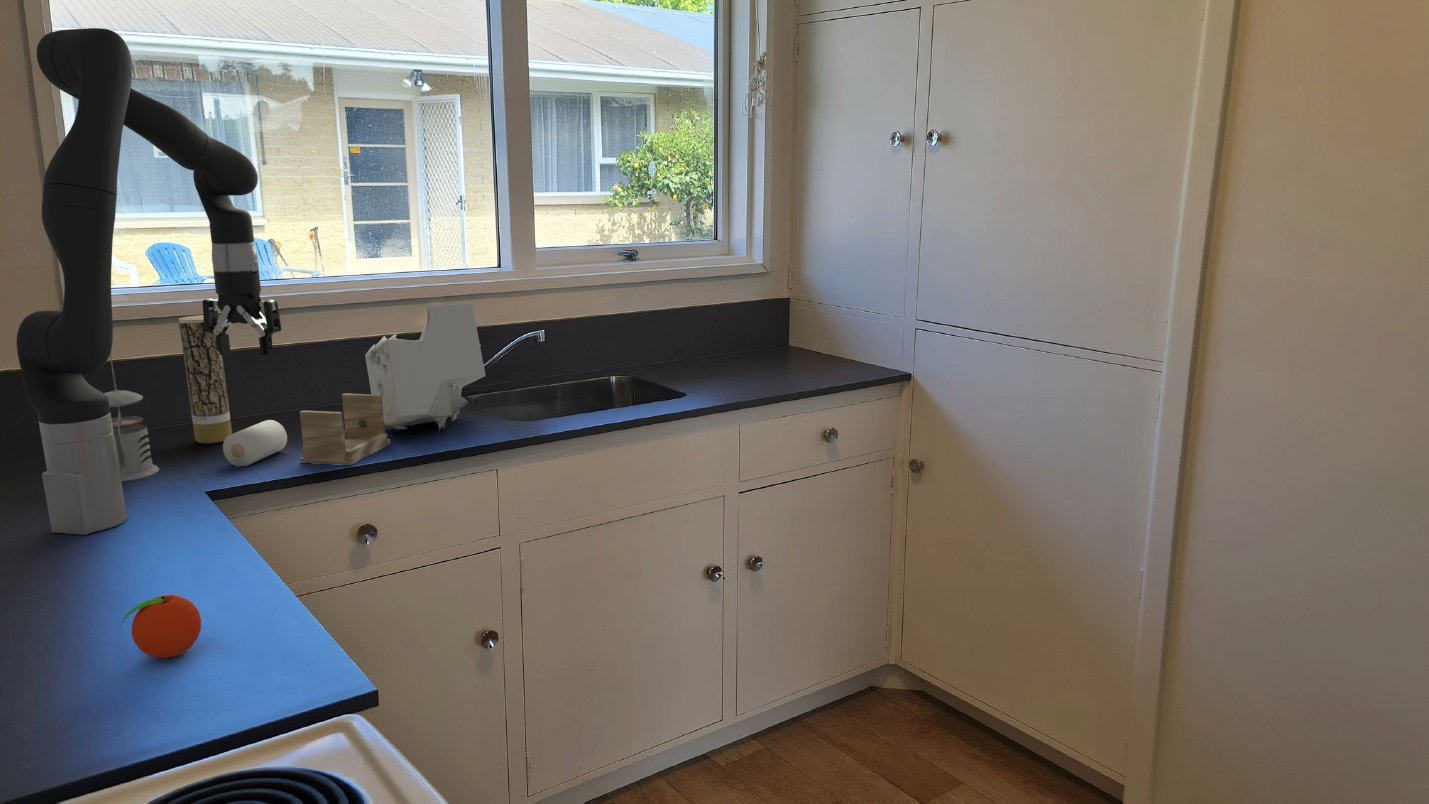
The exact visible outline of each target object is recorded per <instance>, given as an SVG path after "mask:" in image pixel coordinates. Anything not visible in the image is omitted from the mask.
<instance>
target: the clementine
mask: <svg viewBox="0 0 1429 804" xmlns="http://www.w3.org/2000/svg"><path fill="white" fill-rule="evenodd" d="M137 610H138V611H137ZM136 611H137V612H136ZM134 612H136V613H135V615H134V617H133V620H132V622H131V637H132V641H133V643H134V644H135V645H136V646H137V648H138V649H139V650H140V652H142V653H144V654H145V655H147V656H149V657H153V658H157V659H169V658H172V657H173V658H174V657H177V656H179V655H181V654H184V653H185V652H186V651H188V650H189V649H190V648H191V647H192V646H193V645H194V644H195V643H196V641H197V640H198V638H199V636H200V633H201V630H202V617H201V613H200V610H199V609H198V608H197V607H196V605H195V604H194V603H193V602H191V600H189V599H187V598H185V597H182V596H179V595H174V594H165V595H161V596H157V597H153V598H152V599H148V600H146V601H143V602H141V603H139V604H137V605H136V606H134V607H133V608H132V609H131V610H130V611H128V612H127V613H126V615H125V616H124V618H123V619H122V621H121V624H120V627H119V630H121V627H122V625H123V623H124V621H125V620H126V619H127V618H128V616H130V615H131V614H133V613H134Z"/></svg>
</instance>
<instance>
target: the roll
mask: <svg viewBox="0 0 1429 804" xmlns="http://www.w3.org/2000/svg"><path fill="white" fill-rule="evenodd" d="M287 441H288V434H287V432H286V429H285V427H284V426H283V425H282V424H281V423H279V422H278V421H276V420H273V419H267V420H264V421H261V422H259V423H256V424H254V425H250V426H249V427H246V428H244V429H241V430H238V431H236V432H232V434H231V435H229V436H227V437H226V439H225V440H224V441H223V442H222V443H223V444H222V450H223V455H224V456H225V459H226V460H227V461H228V462H229V463H230V464H232V465H233V466H236V467H240V466H245V467H247V466H250V465H251V464H254V463H256V462H259V461H261V460H263V459H265V458H267V457H270V456H271V455H274V454H276V453H278V452H281V451H282V450H283V449H284V448H285V447H286V445H287Z"/></svg>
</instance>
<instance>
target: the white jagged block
mask: <svg viewBox="0 0 1429 804" xmlns="http://www.w3.org/2000/svg"><path fill="white" fill-rule="evenodd" d="M426 311H427V312H426V313H427V314H426V316H427V317H426V320H425V322H424V325H423V329H422V331H421V335H420V337H419V339H416V340H411V339H402V338H400V339H399V338H396V337H397V335H398V334H393V335H392V336H391V337H389V338H388V337H386V336H385V335H384V336H383V337H382V338H381V339H380V340H379V341H378V342H377V343H376V344H373V345H372V346H371V347H370V348H369V349H368V351H367V352H366V354H364V355H365V356H364V357H365V363H366V368H367V375H368V381H369V387H370V393H371V394H372V395H382V404H383V416H384V426H387V427H389V428H390V427H391V428H394V429H395V430H396V431H398V430H400V431H402V430H406V429H408V427H406V425H412V424H413V425H414V424H423V423H428V422H434V423H435V424H436V423H437V428H438V431H440V430H441V429H442V430H443V429H444V430H445V429H446V428H447V427H448V426H449V425H451V423H453V422H454V421H455V420H456V419H457V416H458V415H459V414H460V410H461V409H462V408H464V407H465V406H467V404H468V403H469V401H468V400H467V399H465V397H463V396H462V392H463V391H462V390H463V388H464V387H466V386H467V385H469V384H472V383H474V382H476V381H478V380H480V379H482V378H484V377H487V376H486V375H487V374H486V370H485V365H484V360H483V354H482V349H481V344H480V343H481V342H480V338H479V333H478V328H477V327H478V326H477V323H476V318H475V313H474V308H473V302H471V301H469V302H462V303H461V302H458V303H446V304H433V305H427V306H426Z"/></svg>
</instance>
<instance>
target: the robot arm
mask: <svg viewBox="0 0 1429 804" xmlns="http://www.w3.org/2000/svg"><path fill="white" fill-rule="evenodd" d="M36 61H37V63H38V67H39V69H40V71H41V73H42V74H43V76H44V77H45V78H46V79H47V80H48V82H50V83H51V84H52V85H53V86H54V87H56V88H57V89H59V90H60V91H62V92H64V93H66V94H67V95H69V96H71V97H73V98H75V99H77V101H78V103H77V109H76V114H75V117H74V120H73V123H72V124H71V126H70V129H69V131H68V132H67V134H66V136H65V137H64V139H63V141H62V142H61V144H60V145H59V147H58V149H56V151H55V153H54V154H53V156H52V158H51V159H50V162H49V164H48V166H47V168H46V170H45V173H44V180H43V186H42V187H43V188H42V199H41V222H42V225H43V228H44V231H45V233H46V236H47V238H48V241H49V242H50V245H51V247H52V249H53V251H54V253H55V255H56V257H57V259H58V261H59V264H60V266H61V269H62V274H63V281H64V283H63V284H64V286H63V287H64V288H63V289H64V293H63V305H62V310H39V311H35V312H33V313H30V314H29V315H27V316H26V317H24V318H23V320H22V321H21V322H20V325H19V326H18V329H17V333H16V353H17V358H18V361H19V367H20V371H21V375H22V379H23V383H24V387H25V393H26V395H27V399H28V401H29V403H30V405H31V406H32V407H33V409H34V410H35V411H36V414H37V419H38V425H39V431H40V437H41V442H42V448H43V454H44V455H43V456H44V461H45V465H46V471H44V472H42V473H41V477H42V483H43V489H44V494H45V501H46V505H47V511H48V516H49V518H48V519H49V523H50V530H51V532H52V533H58V534H71V535H72V534H73V535H81V536H82V535H85V536H86V535H89V534H91V533H94V532H99V531H103V530H107V529H111V528H113V527H117V526H119V525H120V524H123V523H124V522H125V521H126V520H127V518H128V516H127V509H126V503H125V497H124V496H125V495H124V490H123V485H122V484H123V483H122V481H121V477H120V470H119V464H118V458H117V451H116V445H115V439H114V432H113V425H112V419H111V418H112V415H111V413H112V412H111V407H110V406H109V401H108V398H107V396H106V395H105V394H104V393H105V392H104V393H103V392H102V391H100V390H98V389H96V388H95V387H93V386H92V385H91V384H90V383H88V382H87V380H85V378H84V376H83V375H88V374H89V375H90V374H94V373H96V372H98V371H100V370H101V369H102V368H103V367H104V366H105V365H106V364H107V362H108V360H109V359H110V353H111V354H112V349H113V344H112V341H113V339H114V338H113V337H114V333H113V332H114V329H113V328H114V326H113V325H114V324H113V321H114V320H113V305H112V300H113V299H112V266H113V265H112V264H113V263H112V261H113V244H114V243H113V241H114V240H113V239H114V230H115V223H116V222H115V221H116V211H117V199H118V198H117V195H118V175H119V165H120V164H119V163H120V153H121V146H122V136H123V129H124V126H125V127H126V128H128V129H129V130H131V131H132V132H134V133H136V134H137V135H139V136H140V137H141V138H142V139H145V140H146V141H147V142H149V143H150V144H152V145H153V146H154V147H156V148H157V149H158V150H159V151H161V152H162V153H163V154H165V156H167V157H168V158H170V159H171V160H173V162H175V163H176V164H178V165H179V166H181V167H183V168H184V169H187V170H188V171H193V173H192V175H193V182H194V187H195V189H196V191H197V194H198V197H199V200H200V201H201V205H202V207H203V210H204V212H205V214H206V217H207V219H208V222H209V232H210V233H209V234H210V241H211V263H212V270H213V278H214V281H213V282H214V287H215V293H216V294H217V295H218V296H217V297H218V299H217V298H214V297H212V298H205V299H203V300H202V313H203V317H204V329H205V331H207V332H208V331H210V332H212V333H214V334H215V336H216V344H217V350H218V352H219V353H220V355H222V356H227V355H230V354H231V345H230V335H229V333H228V331H230V328H231V326H232V325H234V324H238V323H239V324H242V325H243V324H244V325H246V324H248V325H249V326H250V327H251V328H252V329H254V330H255V331H256V332H257V333H258V335H259V337H258V344H259V350H260V351H259V353H260V356H261V357H263V358H264V357H270V356H271V355H272V353H273V350H274V348H273V347H274V346H273V334H276V333H279V332H281V331H282V324H281V317H280V316H281V315H280V310H279V305H278V301H277V299H269V300H262V298H261V296H260V295H261V291H262V286H261V279H260V278H261V277H260V268H259V259H258V258H259V257H258V253H257V249H256V246H255V237H254V234H255V233H254V228H253V219H252V216H251V214H250V212H248V211H247V210H244V209H241V208H238V207H235V205H234V204H233V203H232V202H233V201H232V200H231V198H230V197H231V196H233V197H234V196H236V197H237V196H245V195H248V194H251V193H252V192H253V191H254V190H255V189H256V187H257V186H258V181H259V176H258V175H259V174H258V171H257V170H256V168H255V165H254V164H253V162H252V161H251V160H250V159H249V158H248V157H247V156H246V155H244V154H243V153H241V152H240V151H239V150H237V149H235V148H233V147H231V146H229V145H227V144H226V143H224V142H222V141H220V140H218V139H215V138H213V137H212V136H210V135H208V134H207V133H206V132H205V131H204V130H203V129H201V128H200V127H199V126H198V125H197V124H195V123H194V122H193V121H192V120H191V119H189V117H187V116H185V115H184V114H182V112H180V111H178V110H176V109H175V108H173V107H171V106H169V105H167V104H165V103H162V102H160V101H159V100H157V99H154V98H152V97H150V96H147V95H145V94H143V93H142V92H139V91H137V90H136V89H134V88H132V81H133V59H132V55H131V51H130V49H129V46H128V45H127V43H126V42H125V40H124V38H122V36H121V35H120V34H119V33H117V32H115V31H113V30H111V29H107V28H103V27H98V28H97V27H93V28H91V27H90V28H89V27H88V28H71V29H69V28H68V29H61V30H60V29H59V30H55V31H50V32H47V34H45V35H44V36H42V37H41V38H40V40H39V42H38V43H37V46H36ZM219 310H220V312H221V314H220V315H219ZM261 311H262V312H261ZM263 312H264V315H263Z"/></svg>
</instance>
